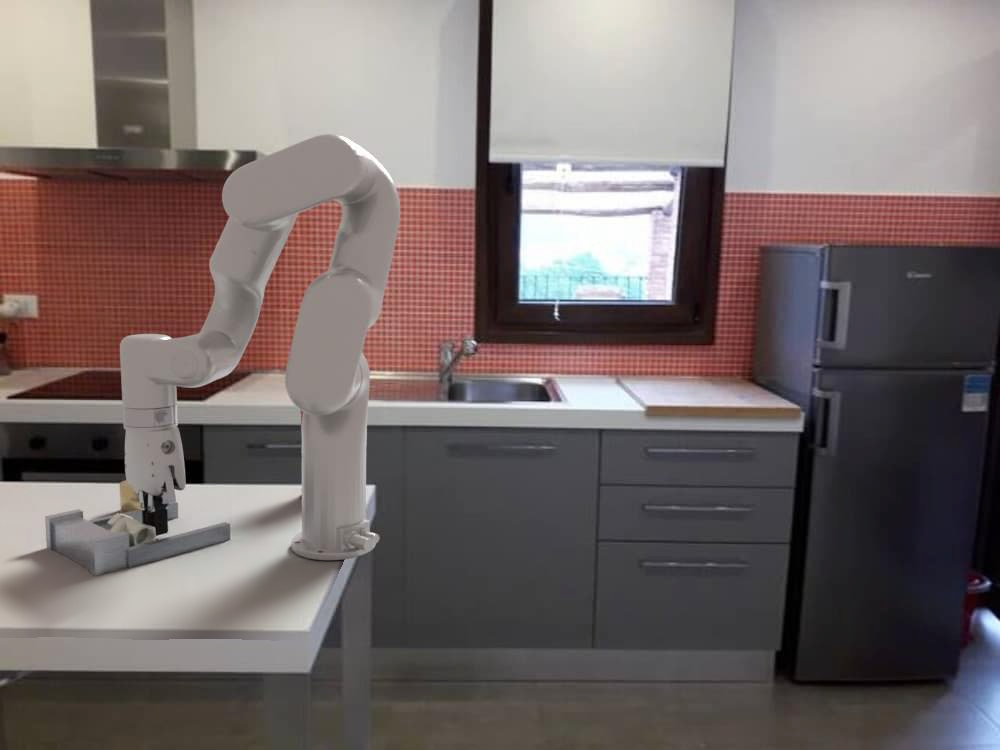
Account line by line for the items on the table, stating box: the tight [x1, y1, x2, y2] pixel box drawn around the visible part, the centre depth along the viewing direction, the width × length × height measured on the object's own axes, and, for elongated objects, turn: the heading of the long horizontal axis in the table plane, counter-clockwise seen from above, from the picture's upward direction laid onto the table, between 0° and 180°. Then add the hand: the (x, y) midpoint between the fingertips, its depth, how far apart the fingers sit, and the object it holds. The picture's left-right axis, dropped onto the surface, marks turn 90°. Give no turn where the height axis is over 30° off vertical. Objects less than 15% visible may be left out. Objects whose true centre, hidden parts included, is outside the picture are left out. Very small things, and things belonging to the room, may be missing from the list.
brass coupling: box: [119, 480, 141, 513], centre depth 138 cm, size 5×5×5 cm
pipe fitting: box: [107, 512, 157, 547], centre depth 122 cm, size 8×4×7 cm
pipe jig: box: [44, 501, 231, 576], centre depth 123 cm, size 16×20×5 cm
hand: (155, 533), depth 125 cm, fingers closed
